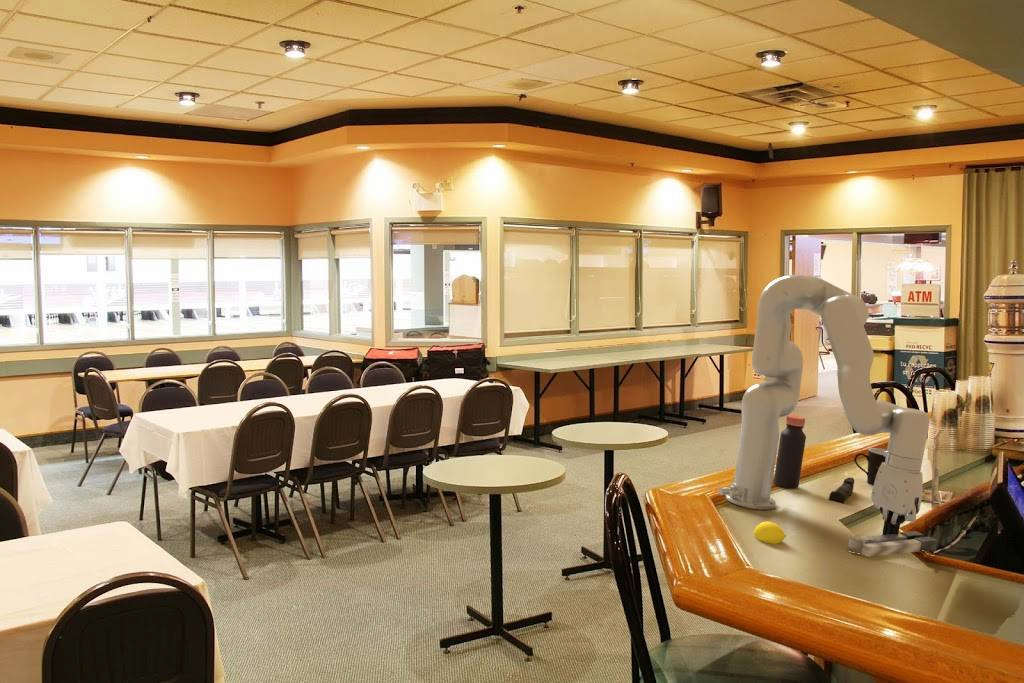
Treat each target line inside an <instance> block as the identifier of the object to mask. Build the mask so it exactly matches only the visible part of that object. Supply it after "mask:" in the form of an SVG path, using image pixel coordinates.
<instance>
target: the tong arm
mask: <svg viewBox="0 0 1024 683" xmlns="http://www.w3.org/2000/svg"><path fill="white" fill-rule="evenodd" d="M920 537H924V534H923V533H921V532H918V531H917V530H912V531H909V530H908V531H899V534H889V535H882V534H881V535H880V534H879V535H870V536H860V537H859V536H858V540H861V541H862V542H863V544H871V543H881V542H892V541H902V540H912V539H914V538H920Z"/></svg>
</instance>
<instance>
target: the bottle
mask: <svg viewBox="0 0 1024 683" xmlns="http://www.w3.org/2000/svg"><path fill="white" fill-rule="evenodd" d="M805 422H806V418H805V417H803V416H800V415H795V414H788V415H786V420H785V425H786V428H785V429H783V430H782V431H781V432H780V435H779V441H778V448H777V455H776V461H775V468H774V475H773V484H774V485H775V486H777V487H781V488H784V489H789V490H790V489H791V490H794V489H798V488H799V487H800V486H799V485H800V479H801V473H802V465H803V459H804V453H805V446H806V439H807V436H806V434H805V433H804V432H803V428H804V427H805V424H806V423H805Z"/></svg>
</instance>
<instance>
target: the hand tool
mask: <svg viewBox="0 0 1024 683" xmlns="http://www.w3.org/2000/svg"><path fill="white" fill-rule="evenodd" d="M842 482H843V483H842V484H841V485H840V486H839V487H838V488H837V489H836V490H832V491H831V492H830V493H829V496H828V501H830V502H834V503H839V504H843V505H844V503H845V501H846V500H847V499H848V498H849V497H851V496H852V494H853V493H854V492H853V491H854V486H855V478H854V477H847V478H845V479H844V480H843V481H842Z"/></svg>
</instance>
